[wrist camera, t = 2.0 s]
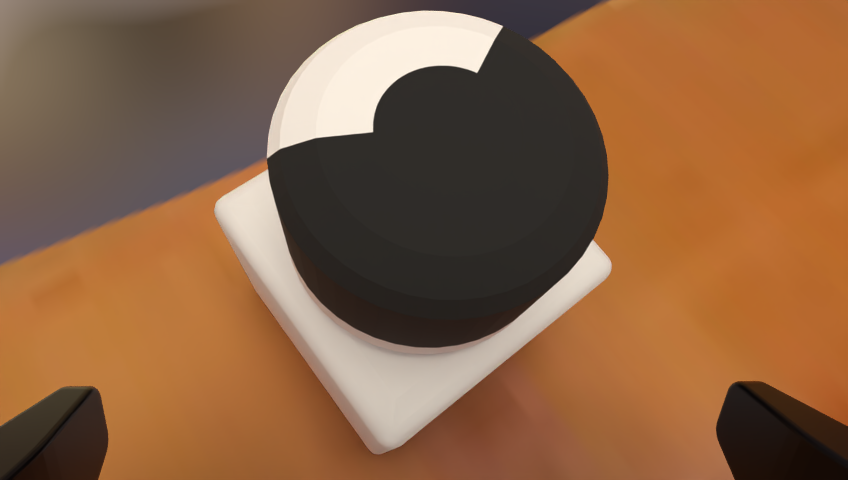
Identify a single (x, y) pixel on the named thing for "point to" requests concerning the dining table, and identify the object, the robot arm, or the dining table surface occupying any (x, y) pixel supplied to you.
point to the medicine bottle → (421, 212)
